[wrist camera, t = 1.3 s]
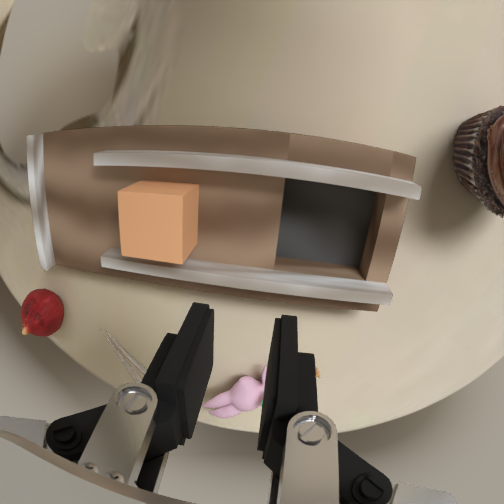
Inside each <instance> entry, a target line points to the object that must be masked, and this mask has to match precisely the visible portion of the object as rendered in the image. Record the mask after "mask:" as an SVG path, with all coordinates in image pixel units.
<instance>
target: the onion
mask: <svg viewBox="0 0 504 504" xmlns="http://www.w3.org/2000/svg"><path fill="white" fill-rule="evenodd" d="M63 317H64V310H63V304H62V302H61V300H60V298H59V297H58V296H57V295H56V294H55V293H54V292H52V291H49V290H47V289H36V290H34V291H32V292H30V293H29V294H28V295H27V297H26V298H25V300H24V302H23V304H22V307H21V320H22V323H23V328H22V333H23V335H26V334H29V333H31V334H33V335H36V336H49V335H51V334H53V333H55V332H56V331H57V330H58V329H59V328H60V326H61V324H62V321H63Z"/></svg>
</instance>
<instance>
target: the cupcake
mask: <svg viewBox="0 0 504 504" xmlns="http://www.w3.org/2000/svg"><path fill="white" fill-rule="evenodd" d="M453 163H454V169H455V171H456V173H457V176H458V179H459V181H460V182H461V184H462V185H463V186H464V187H465V188H466V189H467V190H468V191H469V192H470V193H472V194H473V195H474V196H475V197H476V198H477V199H478V200H479V201H480V202H481V203H482V204H483V205H484V206H485V207H486V209H487V210H490V211H491V212H492V213H495V214H496V215H499V216H500V217H501V218H503V216H504V106H499V107H498V108H494V109H492V110H489V111H487V112H485V113H481V114H478V115H475V116H474V117H472V118H470V119H468V120H467V121H465V122H463V123H462V124H461V126H460V127H459V129H458V131H457V134H456V136H455V138H454V142H453Z"/></svg>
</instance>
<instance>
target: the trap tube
mask: <svg viewBox="0 0 504 504" xmlns="http://www.w3.org/2000/svg"><path fill="white" fill-rule="evenodd" d="M415 162H416V157H413V156H410V155H407V154H403V153H399V152H395V151H391V150H386V149H382V148H377V147H372V146H367V145H362V144H357V143H352V142H346V141H340V140H335V139H328V138H322V137H316V136H309V135H301V134H294V133H286V132H277V131H267V130H257V129H245V128H232V127H215V126H189V125H137V126H111V127H95V128H82V129H72V130H62V131H54V132H47V133H41V134H36V135H30V136H27V164H28V180H29V192H30V202H31V210H32V218H33V225H34V231H35V238H36V243H37V249H38V254H39V259H40V264H41V269H43V270H47V271H48V270H49V269H50V268H52V267H53V266H54V265H61V266H65V267H70V268H75V269H80V270H85V271H90V272H95V273H100V274H106V275H111V276H116V277H122V278H127V279H133V280H138V281H144V282H150V283H156V284H162V285H168V286H174V287H180V288H187V289H193V290H199V291H206V292H213V293H220V294H227V295H234V296H241V297H248V298H256V299H264V300H272V301H280V302H288V303H296V304H305V305H314V306H323V307H333V308H343V309H353V310H364V311H376V312H377V311H378V308H379V305H380V304H381V305H390V302H391V299H392V297H393V294H392V292H391V290H390V289H389V287H388V285H387V280H388V277H389V274H390V270H391V267H392V264H393V260H394V256H395V253H396V249H397V245H398V242H399V238H400V234H401V230H402V226H403V222H404V217H405V213H406V209H407V204H408V199H409V198H411V199H416V200H419V199H420V195H421V190H422V187H421V186H419V185H417V184H415V183H413V182H412V179H413V174H414V168H415ZM141 180H147V181H163V182H178V183H192V184H199V203H198V237H197V245H196V246H195V248H194V249H193V250H192V252H191V253H190V255H189V256H188V257H187V259H186V260H185V262H184V263H183V265H182V264H175V263H168V262H161V261H155V260H148V259H141V258H134V257H128V256H122V253H121V242H120V229H119V213H118V191H119V190H121V189H123V188H126V187H128V186H130V185H132V184H134V183H137V182H139V181H141Z"/></svg>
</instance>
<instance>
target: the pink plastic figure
mask: <svg viewBox="0 0 504 504" xmlns="http://www.w3.org/2000/svg"><path fill="white" fill-rule="evenodd" d="M315 369H316V378H317V376H318V377H319V376H320V373H319V372H320V371H318V370H317V368H315ZM266 371H267V365H266V366H265V367H264V369H263V372H262V383H261V381H258V380H255V379H254V378H252V377H250V376H243V377H241V378H240V379H239V380H238V381H237V382H236V383H235V384H234V386H233V387H232V388H231V389H230V390H228V391H226V392H223V393H221V394H218V395H217V396H215V397H214V398H212V399H211V400H209V401H207V402H205V403H204V404H202V407H208V408H217V407H220V408H218V409H214V410H212V411H209V413H210V414H212V415H214V416H217V417H220V418H230V417H234V416H236V415H238V414H240V413H241V412H242V411H251V410H253V409H256V408H258V407H259V406H261V405H263V396H264V387H265V378H266ZM319 378H321V377H319ZM221 406H223V407H221Z"/></svg>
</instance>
